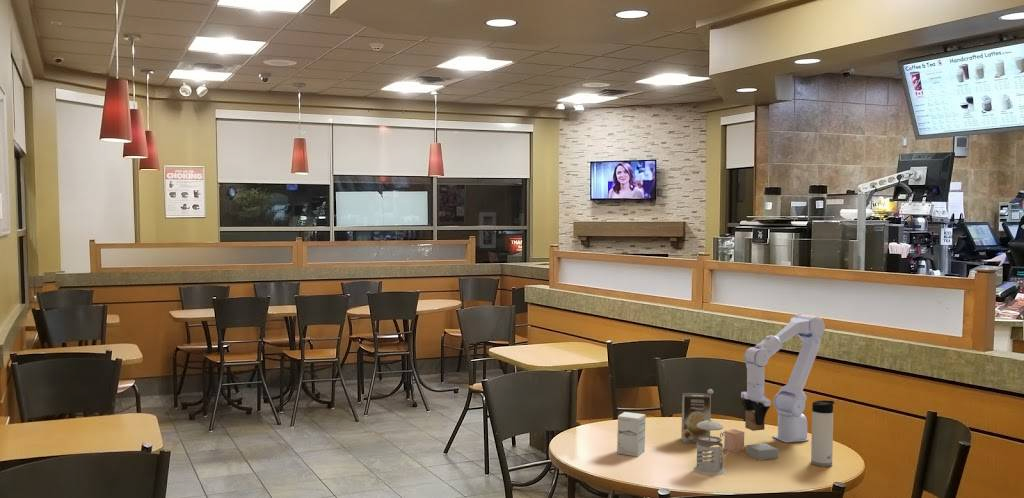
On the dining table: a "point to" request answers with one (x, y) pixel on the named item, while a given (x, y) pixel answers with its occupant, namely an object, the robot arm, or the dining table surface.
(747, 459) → the dining table surface
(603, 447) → the dining table surface
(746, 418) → the walnut block
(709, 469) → the french press
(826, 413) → the travel mug
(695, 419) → the coffee box
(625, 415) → the supplement box
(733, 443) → the terracotta block
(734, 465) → the dining table surface
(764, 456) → the base block
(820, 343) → the robot arm
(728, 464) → the dining table surface
